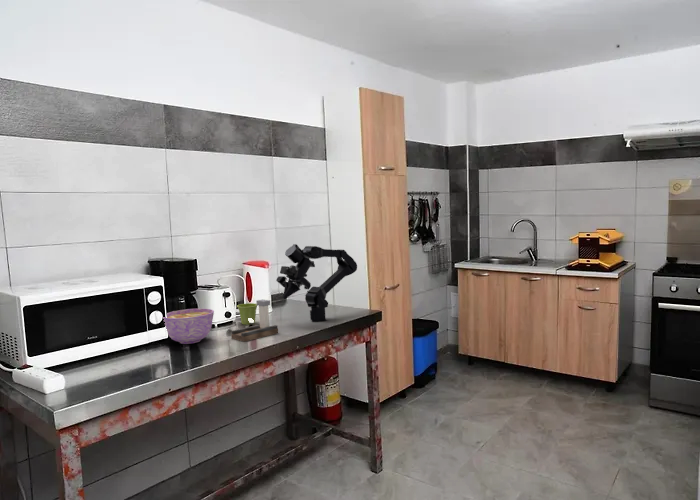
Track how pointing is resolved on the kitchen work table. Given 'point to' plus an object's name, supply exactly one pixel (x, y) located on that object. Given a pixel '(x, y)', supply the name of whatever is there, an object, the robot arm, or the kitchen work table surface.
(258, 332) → the rail
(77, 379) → the kitchen work table surface
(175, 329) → the bowl of food
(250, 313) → the plant pot
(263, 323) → the fader tab
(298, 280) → the robot arm
